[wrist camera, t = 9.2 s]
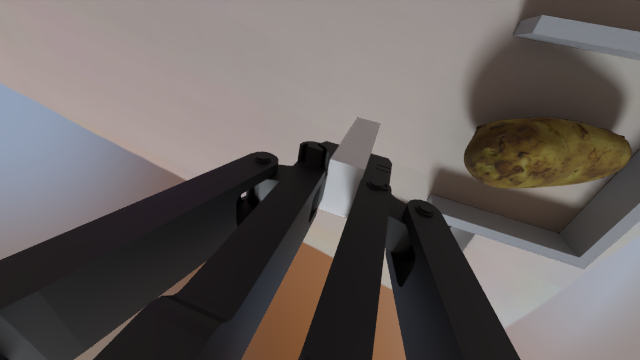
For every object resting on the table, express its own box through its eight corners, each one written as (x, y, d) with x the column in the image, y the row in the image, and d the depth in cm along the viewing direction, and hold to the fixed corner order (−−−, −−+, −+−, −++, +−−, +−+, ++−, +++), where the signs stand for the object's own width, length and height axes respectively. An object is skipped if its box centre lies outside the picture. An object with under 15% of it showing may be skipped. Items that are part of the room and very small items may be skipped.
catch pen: (520, 20, 22) (542, 14, 18) (746, 61, 19) (820, 63, 15) (427, 201, 32) (429, 219, 29) (563, 244, 29) (583, 269, 26)
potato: (547, 198, 28) (593, 247, 21) (442, 150, 29) (454, 181, 22) (620, 135, 23) (709, 170, 16) (493, 80, 24) (528, 92, 17)
